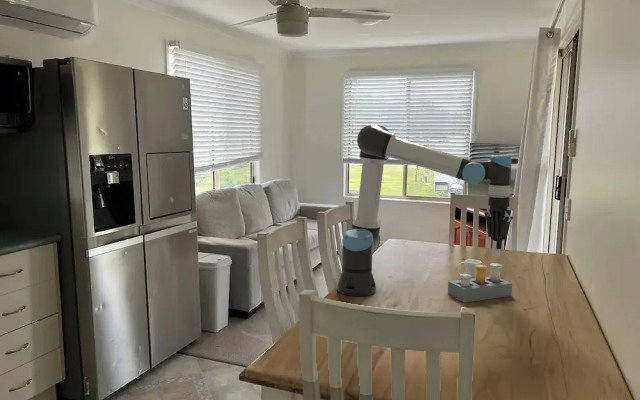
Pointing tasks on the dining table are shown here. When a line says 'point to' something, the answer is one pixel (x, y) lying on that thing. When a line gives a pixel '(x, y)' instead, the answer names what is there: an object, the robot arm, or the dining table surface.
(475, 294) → the board
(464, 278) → the near plug
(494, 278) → the far plug
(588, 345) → the dining table surface
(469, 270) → the cup
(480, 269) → the ochre plug
